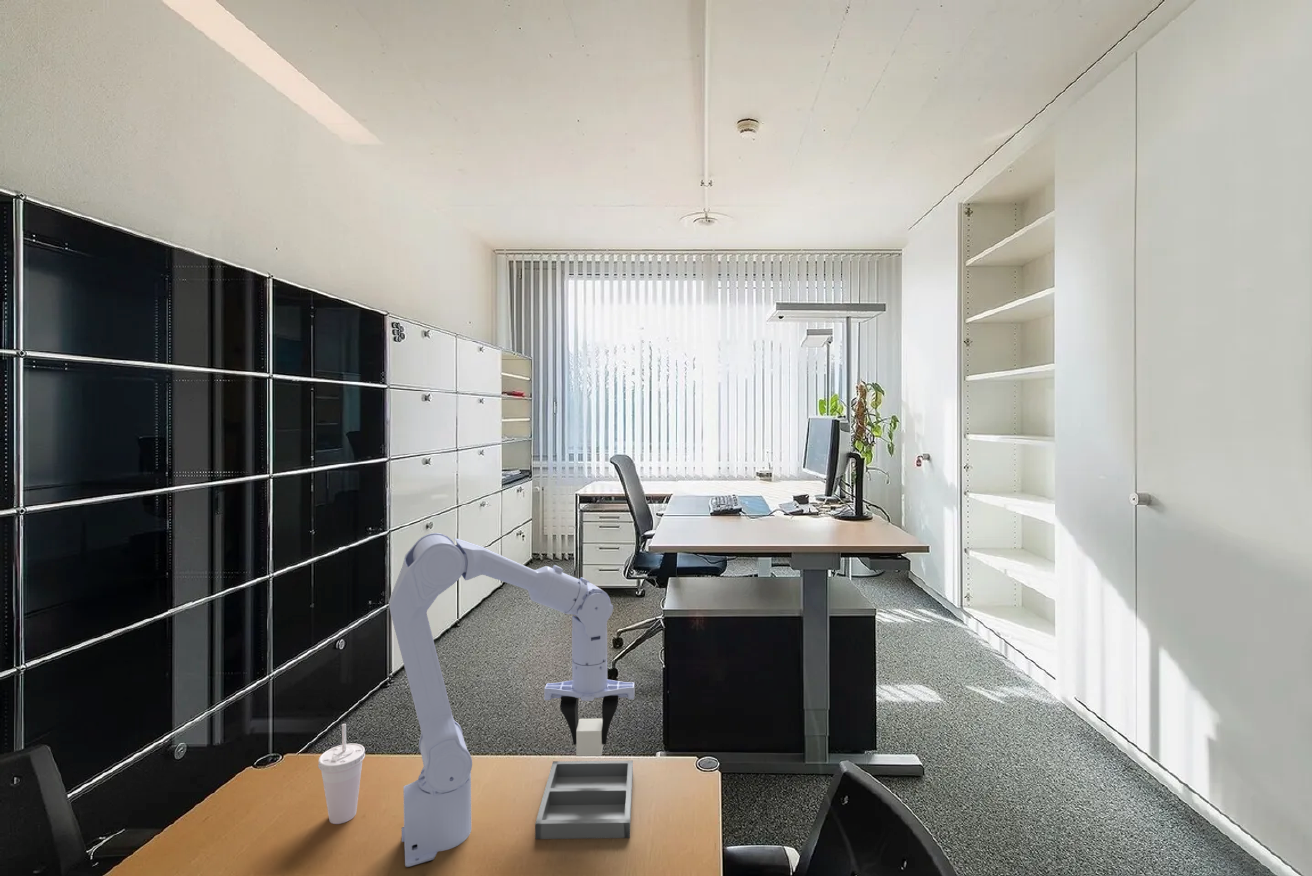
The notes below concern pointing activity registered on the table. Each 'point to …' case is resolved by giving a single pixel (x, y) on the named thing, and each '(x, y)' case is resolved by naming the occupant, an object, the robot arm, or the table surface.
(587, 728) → the white block
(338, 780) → the smoothie
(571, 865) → the table surface
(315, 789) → the table surface
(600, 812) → the divided tray
